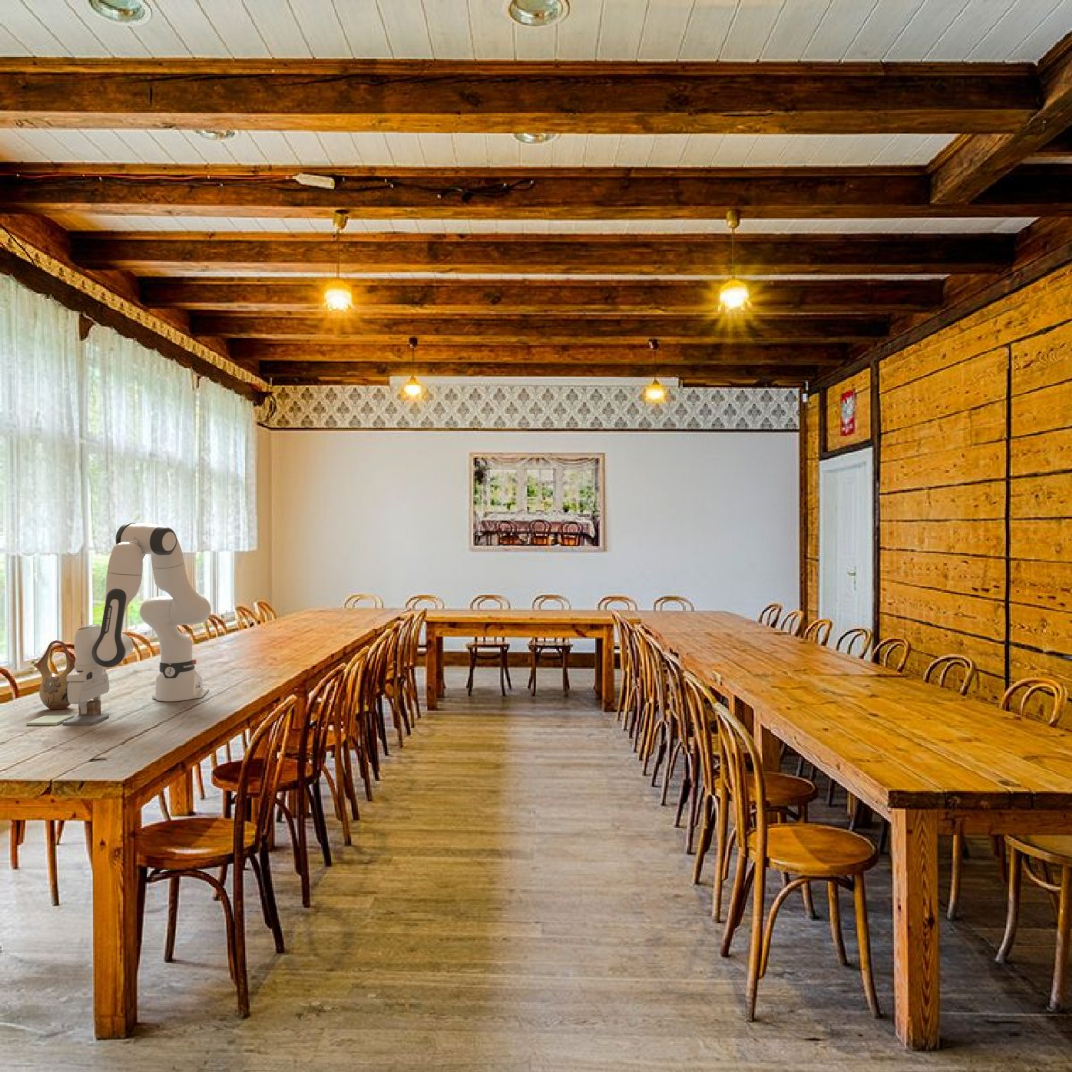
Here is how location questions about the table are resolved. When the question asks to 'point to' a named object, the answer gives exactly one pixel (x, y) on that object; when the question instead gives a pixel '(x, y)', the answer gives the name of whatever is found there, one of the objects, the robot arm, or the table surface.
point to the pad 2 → (85, 719)
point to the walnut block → (92, 707)
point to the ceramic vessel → (54, 680)
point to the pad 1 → (50, 720)
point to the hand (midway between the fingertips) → (89, 711)
